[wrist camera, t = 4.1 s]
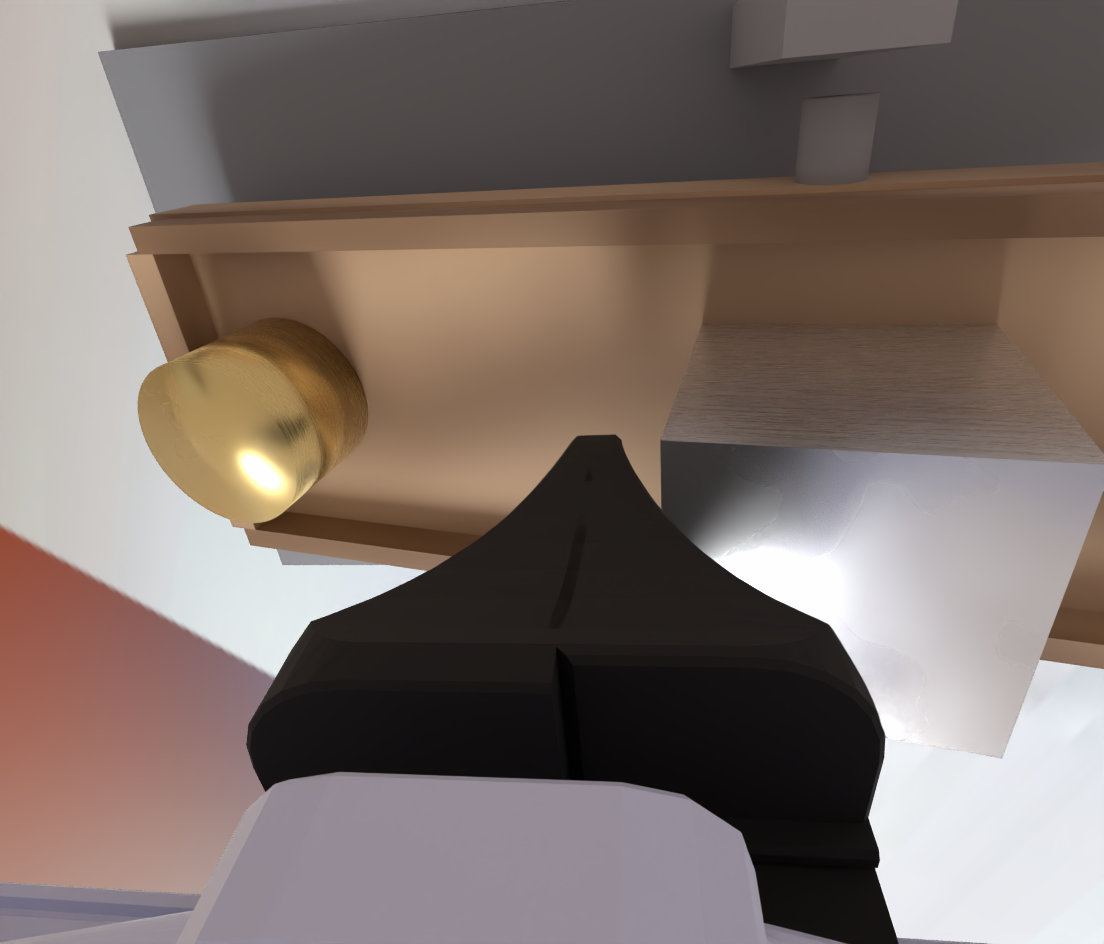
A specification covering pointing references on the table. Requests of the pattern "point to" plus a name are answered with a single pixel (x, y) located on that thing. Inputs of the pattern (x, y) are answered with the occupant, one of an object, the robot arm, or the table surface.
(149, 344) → the table surface
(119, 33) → the table surface
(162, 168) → the beam stand
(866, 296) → the beam
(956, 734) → the steel block
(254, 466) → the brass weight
